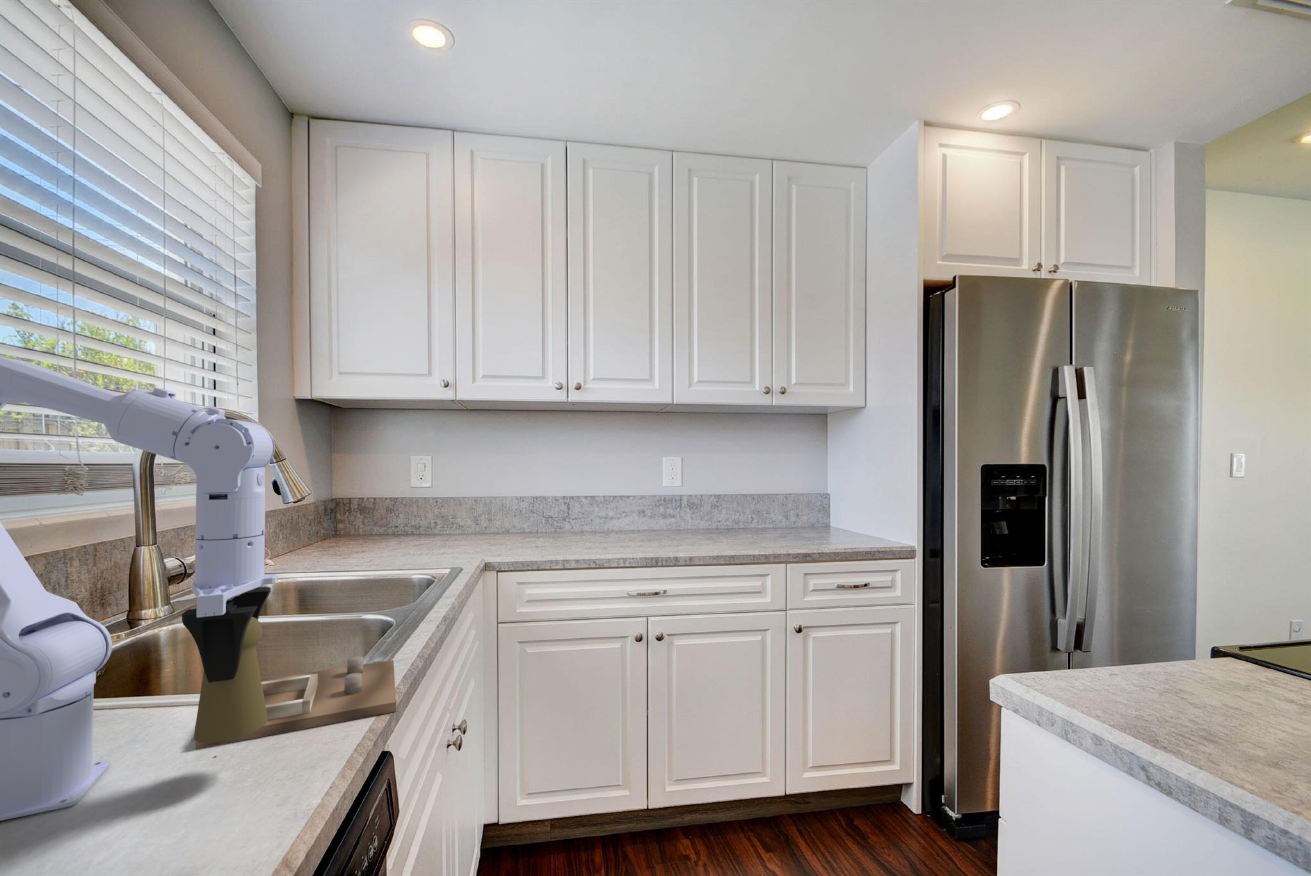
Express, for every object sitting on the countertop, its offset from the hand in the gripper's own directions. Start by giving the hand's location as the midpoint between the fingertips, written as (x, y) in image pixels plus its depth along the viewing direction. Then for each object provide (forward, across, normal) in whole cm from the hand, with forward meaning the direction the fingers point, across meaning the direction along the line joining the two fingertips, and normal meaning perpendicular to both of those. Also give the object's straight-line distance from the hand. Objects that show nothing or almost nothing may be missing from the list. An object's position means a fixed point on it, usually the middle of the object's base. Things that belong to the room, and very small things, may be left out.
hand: (229, 669), depth 58 cm
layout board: (+10, +15, -6) cm, 19 cm away
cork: (+6, 0, 0) cm, 6 cm away
